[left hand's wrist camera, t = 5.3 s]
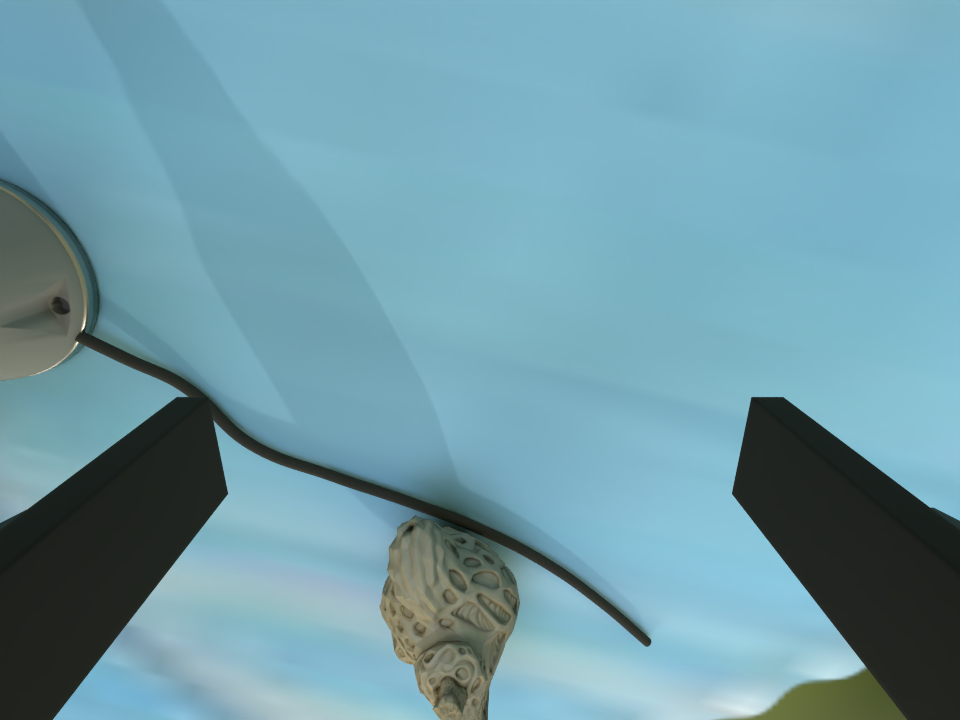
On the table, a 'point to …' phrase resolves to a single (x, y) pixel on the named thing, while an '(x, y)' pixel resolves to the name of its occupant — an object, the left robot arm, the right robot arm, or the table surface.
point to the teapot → (449, 614)
